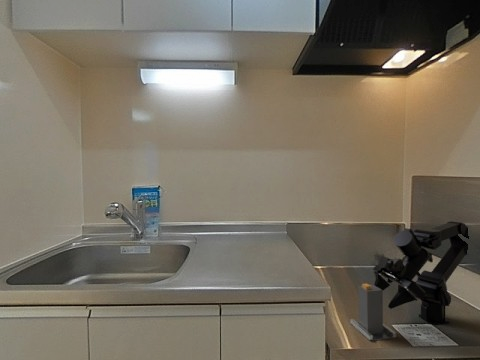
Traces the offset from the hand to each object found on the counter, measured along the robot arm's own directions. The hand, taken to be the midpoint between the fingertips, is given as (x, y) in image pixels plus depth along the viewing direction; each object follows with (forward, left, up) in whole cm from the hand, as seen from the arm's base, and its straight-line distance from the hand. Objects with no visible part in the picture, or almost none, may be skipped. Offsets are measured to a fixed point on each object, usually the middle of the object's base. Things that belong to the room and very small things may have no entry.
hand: (380, 301), depth 100 cm
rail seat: (+3, 0, -9) cm, 9 cm away
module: (+3, 0, -8) cm, 9 cm away
